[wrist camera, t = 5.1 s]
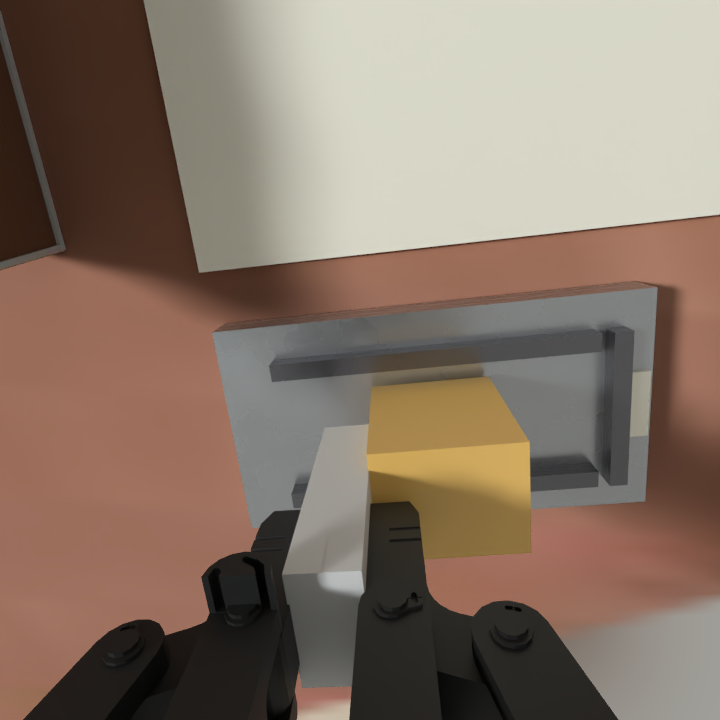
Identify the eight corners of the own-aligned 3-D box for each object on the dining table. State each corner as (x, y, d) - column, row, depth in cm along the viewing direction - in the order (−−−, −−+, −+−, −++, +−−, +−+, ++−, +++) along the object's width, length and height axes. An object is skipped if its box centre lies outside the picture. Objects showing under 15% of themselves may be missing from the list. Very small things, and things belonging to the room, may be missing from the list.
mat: (103, -215, 14) (97, -223, 14) (762, -345, 13) (771, -358, 12) (202, 271, 18) (198, 272, 18) (714, 214, 17) (720, 214, 16)
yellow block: (371, 387, 17) (366, 454, 12) (488, 376, 17) (529, 441, 12) (381, 468, 18) (379, 562, 13) (491, 460, 18) (531, 552, 13)
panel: (225, 323, 19) (204, 337, 16) (635, 281, 17) (669, 290, 15) (261, 506, 21) (247, 539, 19) (626, 480, 20) (655, 512, 18)
